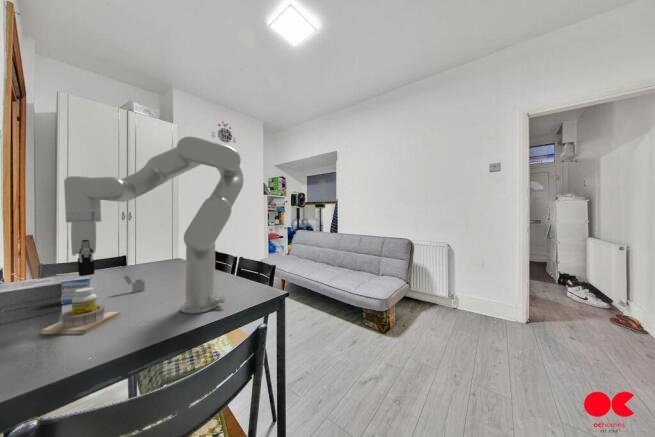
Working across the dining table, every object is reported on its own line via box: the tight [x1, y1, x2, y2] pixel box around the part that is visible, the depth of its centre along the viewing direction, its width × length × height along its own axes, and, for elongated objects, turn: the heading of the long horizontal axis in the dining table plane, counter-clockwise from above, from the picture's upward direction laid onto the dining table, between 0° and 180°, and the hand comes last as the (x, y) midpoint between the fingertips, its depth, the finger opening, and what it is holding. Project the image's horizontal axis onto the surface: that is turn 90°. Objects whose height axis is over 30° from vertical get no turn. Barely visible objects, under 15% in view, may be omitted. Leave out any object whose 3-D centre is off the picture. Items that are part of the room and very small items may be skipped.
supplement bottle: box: [71, 286, 98, 316], centre depth 72 cm, size 5×5×10 cm
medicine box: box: [60, 276, 92, 305], centre depth 90 cm, size 8×4×9 cm, turn 131°
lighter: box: [122, 274, 146, 293], centre depth 100 cm, size 7×2×8 cm, turn 132°
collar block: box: [40, 304, 122, 335], centre depth 72 cm, size 12×12×4 cm
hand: (86, 272), depth 72 cm, fingers open, 9 cm apart
